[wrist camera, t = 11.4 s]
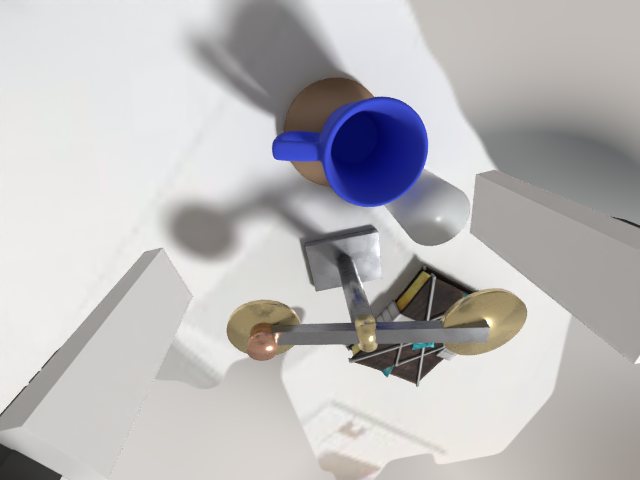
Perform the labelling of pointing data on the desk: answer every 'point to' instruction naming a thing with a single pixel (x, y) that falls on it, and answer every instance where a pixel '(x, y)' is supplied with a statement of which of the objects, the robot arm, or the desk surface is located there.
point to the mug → (364, 150)
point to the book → (414, 305)
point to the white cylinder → (431, 210)
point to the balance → (349, 272)
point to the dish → (320, 115)
